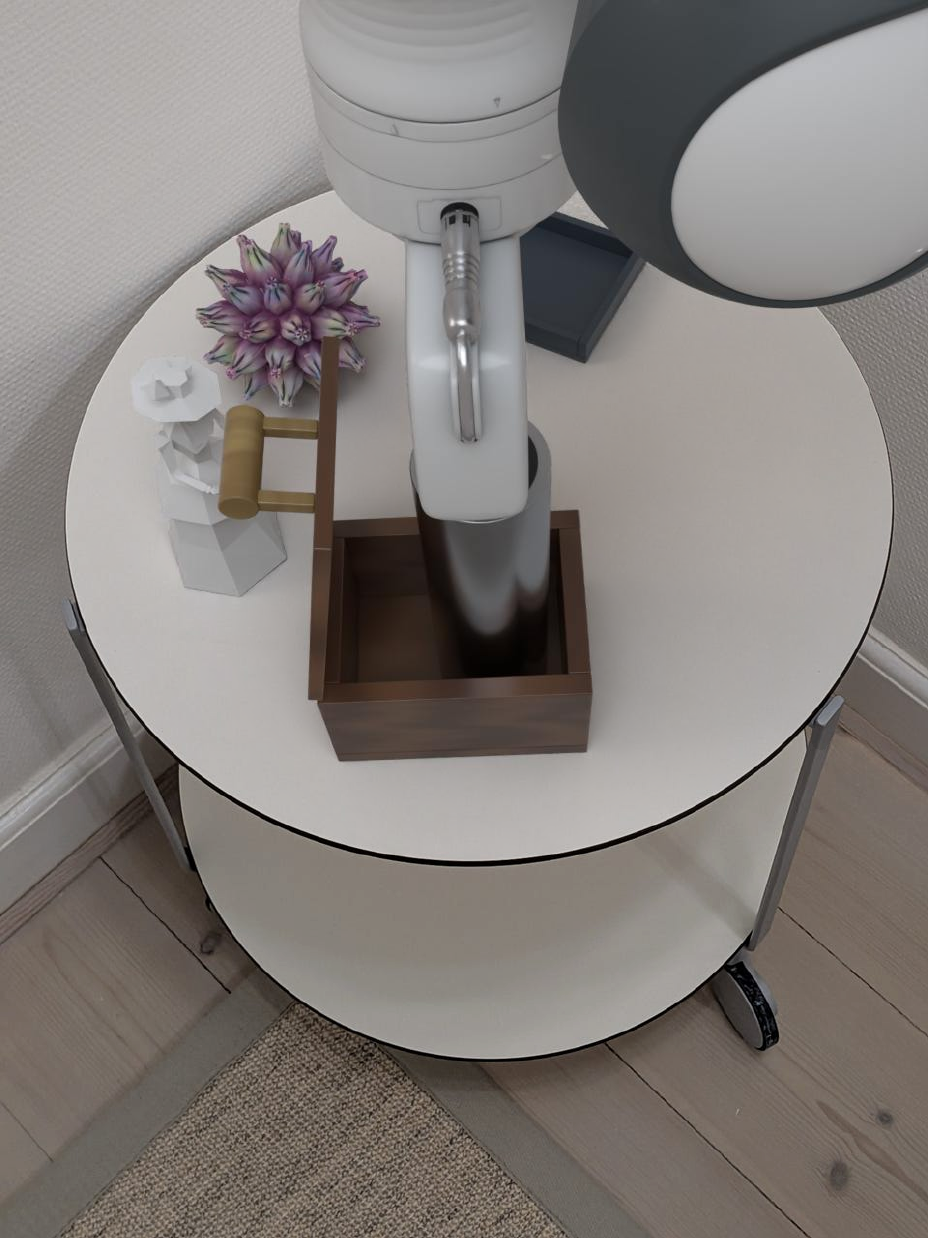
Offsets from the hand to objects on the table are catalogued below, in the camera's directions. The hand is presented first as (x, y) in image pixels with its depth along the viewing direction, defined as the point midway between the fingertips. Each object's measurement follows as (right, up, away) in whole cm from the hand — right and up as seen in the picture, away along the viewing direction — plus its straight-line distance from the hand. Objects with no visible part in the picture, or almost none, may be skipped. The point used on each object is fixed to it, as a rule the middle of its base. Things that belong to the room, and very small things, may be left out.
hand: (474, 384), depth 51 cm
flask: (+1, -12, +22) cm, 26 cm away
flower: (-12, +7, +35) cm, 38 cm away
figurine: (-16, -5, +29) cm, 33 cm away
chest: (-1, -13, +24) cm, 27 cm away
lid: (-7, -5, +10) cm, 13 cm away
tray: (+5, +14, +37) cm, 40 cm away
